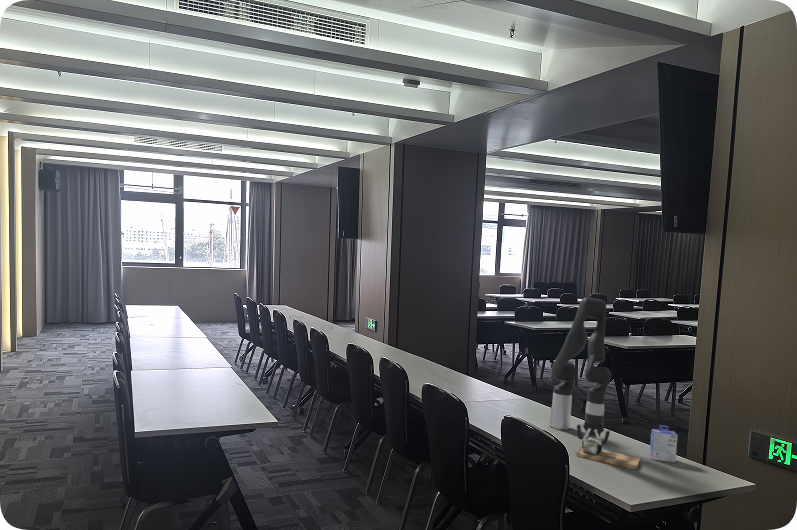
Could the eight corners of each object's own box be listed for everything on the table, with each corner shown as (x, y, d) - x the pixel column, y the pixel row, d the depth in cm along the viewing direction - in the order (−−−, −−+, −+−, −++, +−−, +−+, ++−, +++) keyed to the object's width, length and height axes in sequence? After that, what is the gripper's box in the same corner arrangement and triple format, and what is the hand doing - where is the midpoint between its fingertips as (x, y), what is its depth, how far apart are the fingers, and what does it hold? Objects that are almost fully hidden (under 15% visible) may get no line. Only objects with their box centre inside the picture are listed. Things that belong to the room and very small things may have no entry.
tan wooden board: (576, 455, 237) (576, 452, 236) (581, 448, 247) (582, 445, 247) (636, 470, 225) (636, 466, 225) (639, 461, 235) (640, 458, 235)
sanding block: (582, 452, 237) (583, 441, 237) (588, 447, 244) (589, 437, 244) (594, 455, 234) (595, 444, 234) (600, 450, 242) (601, 439, 242)
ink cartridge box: (672, 458, 243) (675, 426, 242) (676, 463, 237) (679, 429, 237) (648, 455, 244) (651, 423, 244) (651, 459, 239) (654, 426, 239)
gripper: (613, 413, 239) (610, 452, 239) (579, 407, 246) (576, 445, 246) (610, 417, 232) (607, 457, 233) (575, 410, 239) (572, 449, 240)
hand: (591, 450), depth 239 cm, fingers closed on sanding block, 5 cm apart
